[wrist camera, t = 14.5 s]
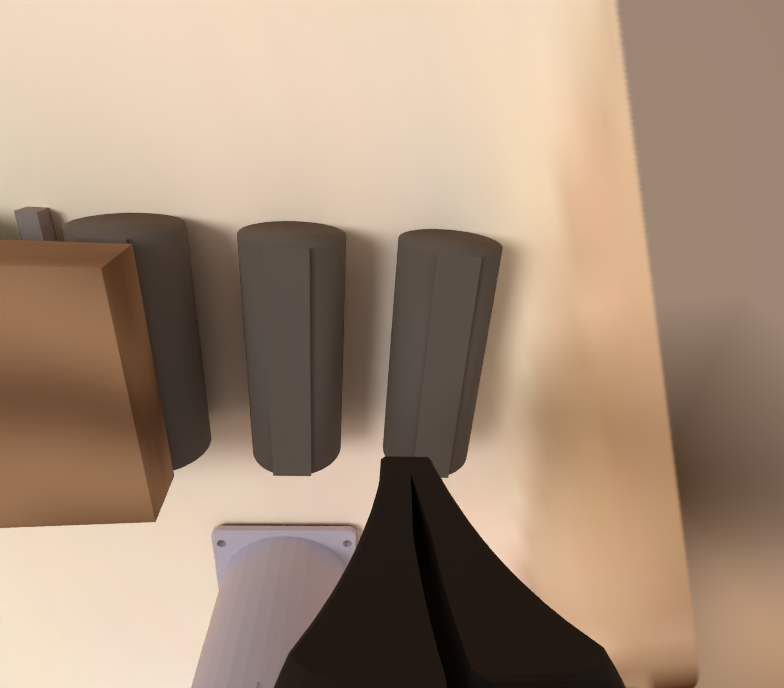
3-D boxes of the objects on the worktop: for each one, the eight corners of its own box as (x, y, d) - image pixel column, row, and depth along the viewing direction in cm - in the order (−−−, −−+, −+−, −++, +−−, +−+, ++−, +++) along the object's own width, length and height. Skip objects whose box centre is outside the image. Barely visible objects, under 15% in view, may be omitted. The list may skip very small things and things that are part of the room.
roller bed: (458, 424, 25) (474, 477, 22) (-42, 413, 23) (-115, 471, 20) (488, 232, 21) (515, 259, 17) (-127, 198, 19) (-242, 221, 15)
